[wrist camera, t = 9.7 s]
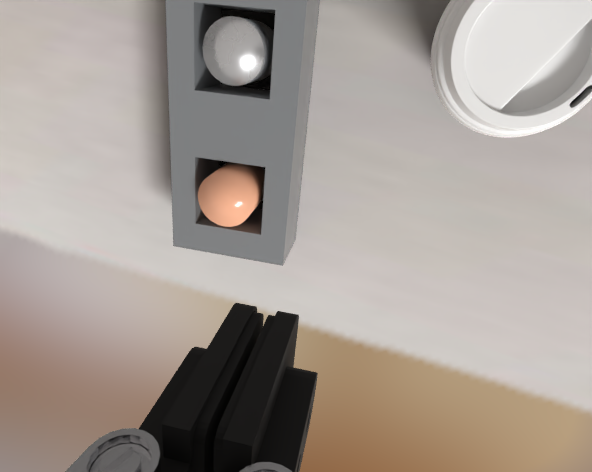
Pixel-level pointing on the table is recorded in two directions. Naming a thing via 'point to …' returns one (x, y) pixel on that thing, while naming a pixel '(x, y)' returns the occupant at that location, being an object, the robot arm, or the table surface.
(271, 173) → the plunger housing
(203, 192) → the peach rounded cylinder
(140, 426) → the robot arm
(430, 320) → the table surface
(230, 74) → the metal plunger
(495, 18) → the coffee cup
